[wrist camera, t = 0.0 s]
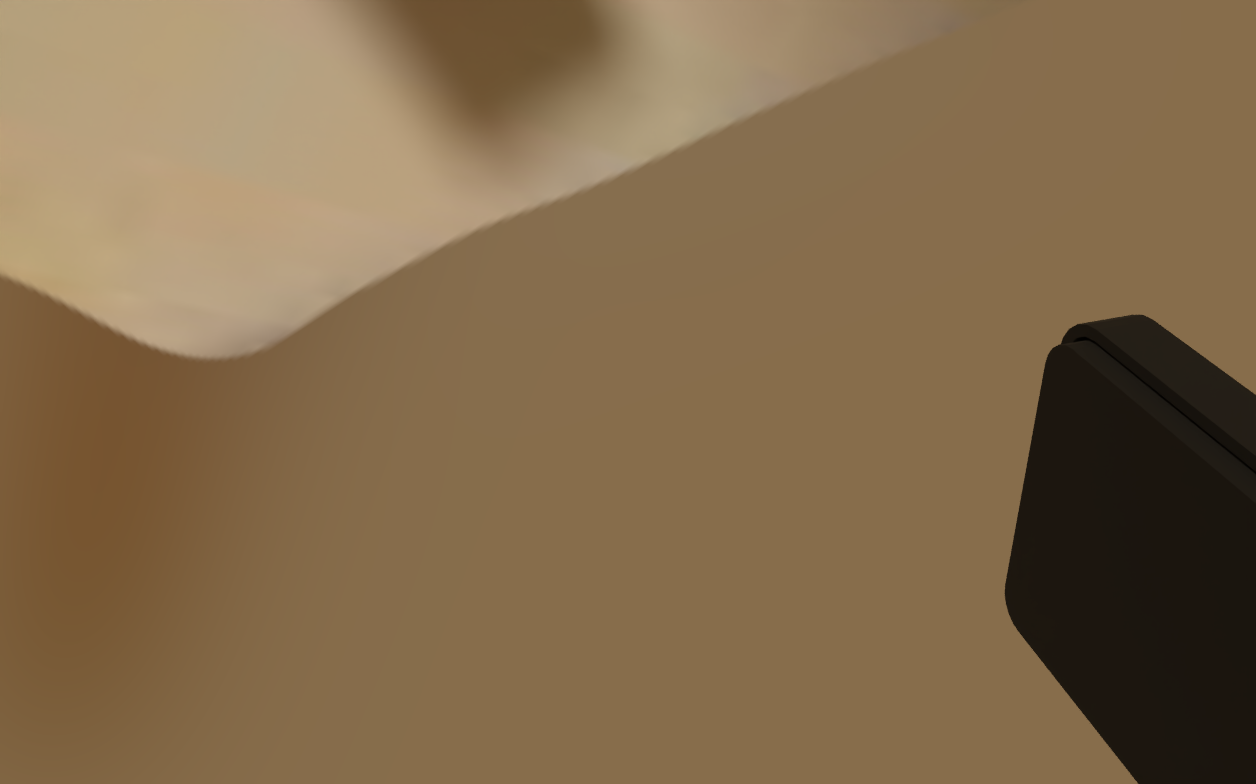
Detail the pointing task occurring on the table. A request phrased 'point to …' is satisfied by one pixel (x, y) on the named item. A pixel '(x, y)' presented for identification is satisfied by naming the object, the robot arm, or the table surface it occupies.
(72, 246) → the table surface
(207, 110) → the table surface
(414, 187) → the table surface
